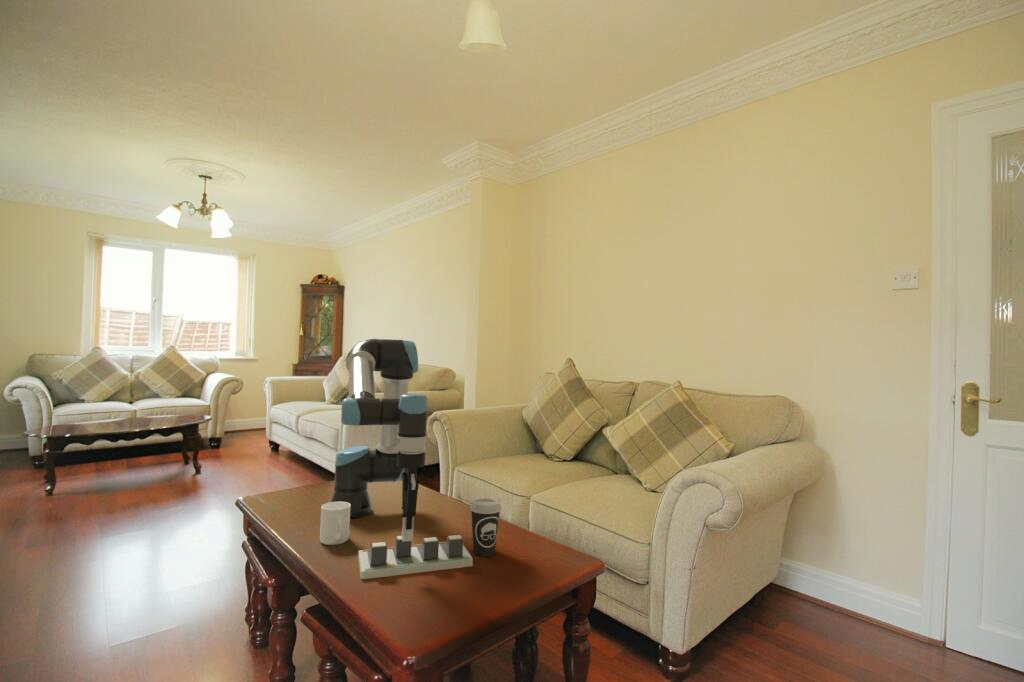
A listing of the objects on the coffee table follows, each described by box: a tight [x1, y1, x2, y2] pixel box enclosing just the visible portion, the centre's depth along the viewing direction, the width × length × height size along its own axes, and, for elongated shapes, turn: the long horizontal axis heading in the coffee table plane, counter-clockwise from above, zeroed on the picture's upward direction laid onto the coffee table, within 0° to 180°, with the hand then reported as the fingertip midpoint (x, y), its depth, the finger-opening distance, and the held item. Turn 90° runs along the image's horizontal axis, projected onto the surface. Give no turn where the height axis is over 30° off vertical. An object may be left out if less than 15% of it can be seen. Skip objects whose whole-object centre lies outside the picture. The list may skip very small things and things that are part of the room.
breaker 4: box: [446, 534, 464, 557], centre depth 136 cm, size 3×4×5 cm
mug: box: [319, 501, 351, 546], centre depth 147 cm, size 9×12×11 cm
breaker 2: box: [394, 535, 412, 557], centre depth 134 cm, size 3×4×5 cm
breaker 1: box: [370, 541, 388, 565], centre depth 129 cm, size 3×4×5 cm
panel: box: [357, 540, 474, 580], centre depth 135 cm, size 14×30×2 cm, turn 111°
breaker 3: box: [421, 536, 440, 559], centre depth 133 cm, size 3×4×5 cm
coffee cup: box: [469, 497, 502, 557], centre depth 144 cm, size 10×10×15 cm
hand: (407, 540), depth 128 cm, fingers closed
